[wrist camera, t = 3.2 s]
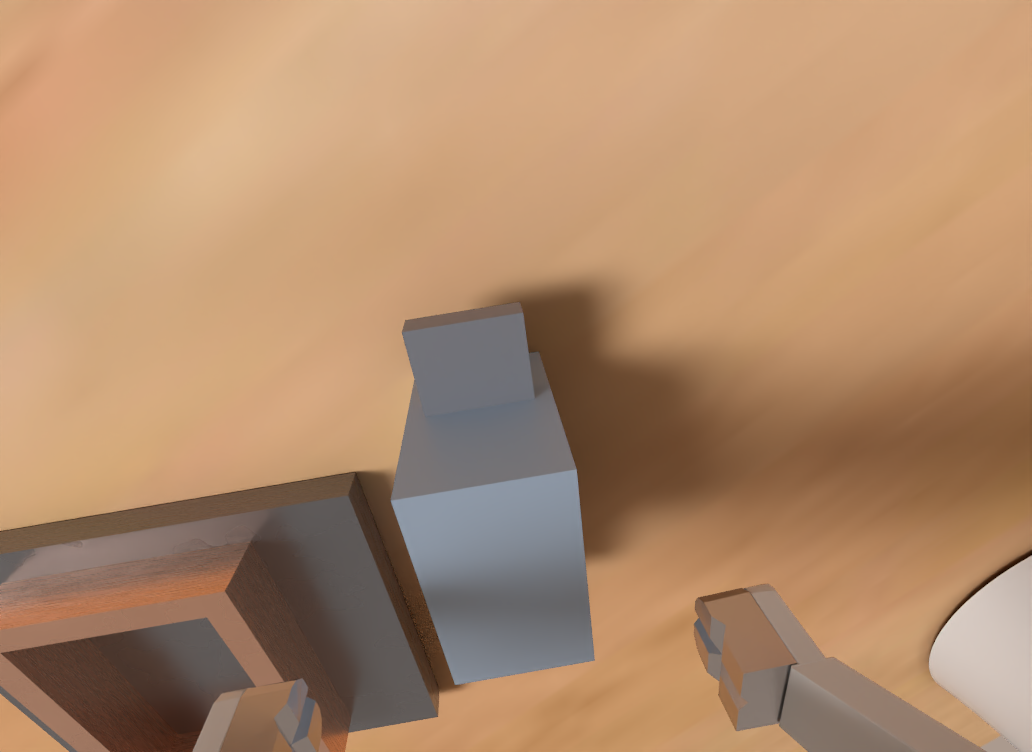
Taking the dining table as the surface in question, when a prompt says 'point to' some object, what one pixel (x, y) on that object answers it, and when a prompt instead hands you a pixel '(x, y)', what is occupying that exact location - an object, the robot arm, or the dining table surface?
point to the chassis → (208, 617)
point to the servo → (491, 499)
